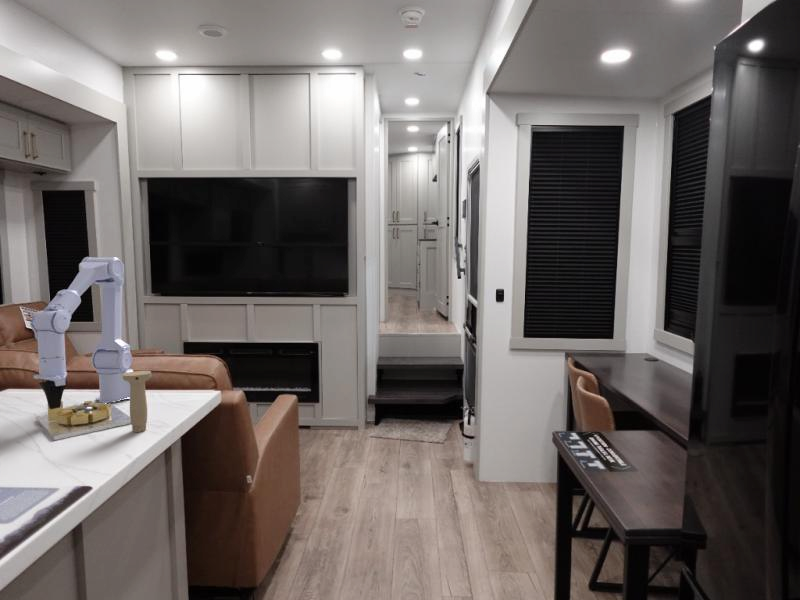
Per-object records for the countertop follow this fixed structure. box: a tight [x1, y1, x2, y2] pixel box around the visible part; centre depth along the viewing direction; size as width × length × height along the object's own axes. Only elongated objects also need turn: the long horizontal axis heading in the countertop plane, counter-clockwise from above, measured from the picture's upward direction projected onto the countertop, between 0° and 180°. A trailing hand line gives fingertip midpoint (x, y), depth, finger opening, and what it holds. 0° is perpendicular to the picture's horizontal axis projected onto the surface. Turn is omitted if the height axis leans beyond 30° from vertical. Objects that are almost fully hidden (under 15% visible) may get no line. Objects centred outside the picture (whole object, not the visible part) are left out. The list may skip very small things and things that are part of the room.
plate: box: [35, 403, 131, 441], centre depth 134 cm, size 18×20×4 cm
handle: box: [123, 370, 152, 433], centre depth 128 cm, size 5×6×15 cm
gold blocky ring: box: [47, 400, 111, 425], centre depth 134 cm, size 14×12×5 cm
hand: (54, 408), depth 130 cm, fingers closed, pressing on gold blocky ring
